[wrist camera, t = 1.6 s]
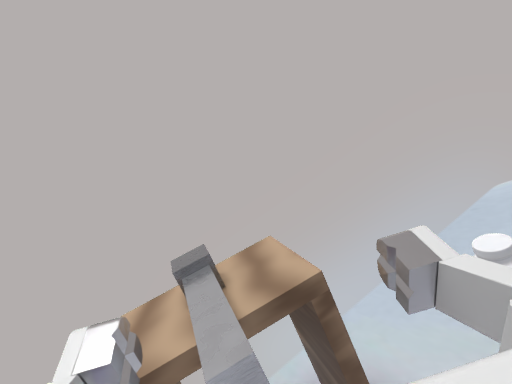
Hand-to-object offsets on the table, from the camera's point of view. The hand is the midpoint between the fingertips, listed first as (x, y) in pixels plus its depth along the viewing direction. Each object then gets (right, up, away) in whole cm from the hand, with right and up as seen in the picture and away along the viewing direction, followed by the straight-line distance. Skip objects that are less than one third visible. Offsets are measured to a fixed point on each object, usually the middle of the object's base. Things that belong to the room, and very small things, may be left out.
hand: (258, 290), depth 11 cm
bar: (-3, -8, +18) cm, 20 cm away
